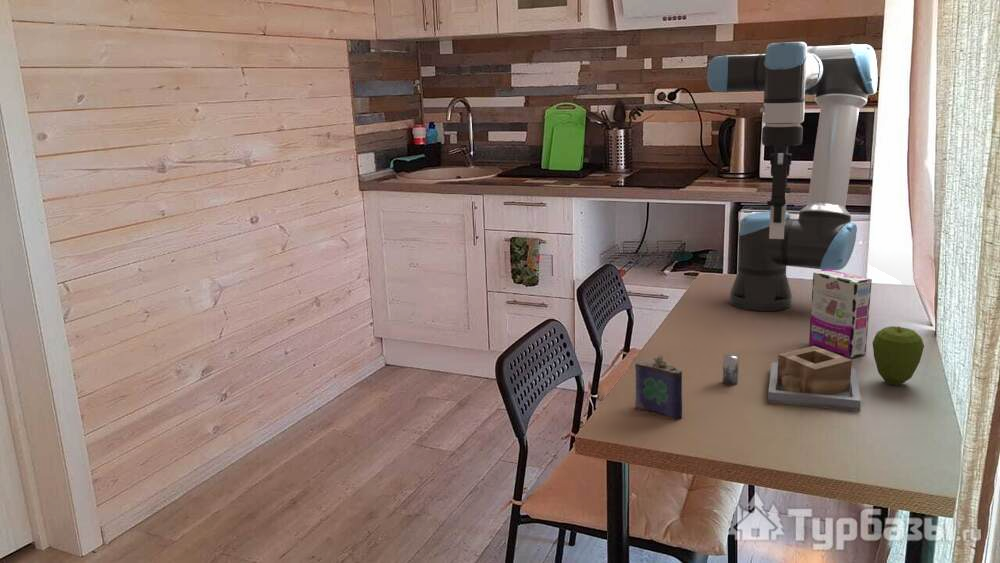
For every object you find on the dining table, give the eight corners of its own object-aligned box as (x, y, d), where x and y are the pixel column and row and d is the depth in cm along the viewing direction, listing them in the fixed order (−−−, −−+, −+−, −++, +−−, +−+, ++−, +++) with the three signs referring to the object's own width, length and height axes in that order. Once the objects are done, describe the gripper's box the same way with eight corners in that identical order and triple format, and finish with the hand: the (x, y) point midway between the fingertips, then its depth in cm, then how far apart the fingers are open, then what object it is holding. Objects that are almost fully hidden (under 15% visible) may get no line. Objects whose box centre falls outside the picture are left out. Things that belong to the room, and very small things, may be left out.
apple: (877, 392, 148) (882, 333, 145) (863, 374, 156) (868, 318, 153) (927, 392, 146) (933, 333, 143) (910, 375, 154) (916, 318, 151)
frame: (768, 385, 151) (770, 356, 149) (812, 374, 155) (814, 345, 154) (804, 402, 143) (806, 371, 141) (849, 390, 147) (851, 360, 146)
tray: (771, 371, 159) (771, 362, 159) (855, 378, 154) (855, 369, 153) (768, 402, 145) (768, 392, 145) (860, 411, 140) (860, 400, 140)
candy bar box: (867, 354, 166) (873, 278, 162) (850, 359, 164) (856, 282, 159) (823, 339, 176) (828, 267, 171) (807, 344, 173) (812, 271, 169)
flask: (632, 408, 145) (632, 353, 143) (641, 403, 147) (641, 348, 145) (677, 421, 139) (678, 364, 136) (686, 416, 141) (687, 359, 139)
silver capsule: (723, 379, 157) (724, 352, 155) (738, 380, 156) (739, 354, 154) (722, 384, 154) (722, 357, 153) (737, 386, 153) (738, 359, 152)
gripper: (765, 119, 168) (761, 219, 173) (759, 130, 145) (754, 244, 151) (803, 119, 165) (797, 219, 171) (803, 130, 143) (796, 245, 148)
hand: (777, 231), depth 161 cm, fingers open, 13 cm apart
